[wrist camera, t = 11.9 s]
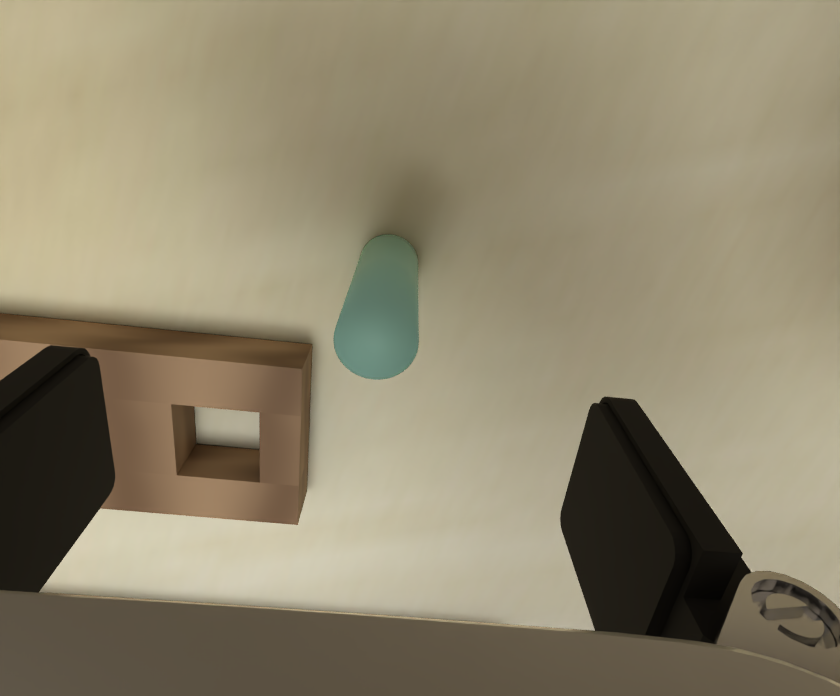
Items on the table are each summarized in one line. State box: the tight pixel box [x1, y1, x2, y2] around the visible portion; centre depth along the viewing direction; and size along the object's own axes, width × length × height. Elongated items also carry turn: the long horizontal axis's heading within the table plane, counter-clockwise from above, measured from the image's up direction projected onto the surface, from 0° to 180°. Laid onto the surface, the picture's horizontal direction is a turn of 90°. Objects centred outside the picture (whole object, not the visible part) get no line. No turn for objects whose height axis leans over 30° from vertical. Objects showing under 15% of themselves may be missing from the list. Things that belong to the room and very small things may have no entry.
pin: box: [334, 234, 419, 379], centre depth 20 cm, size 2×2×8 cm
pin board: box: [0, 313, 312, 525], centre depth 25 cm, size 14×8×2 cm, turn 84°
